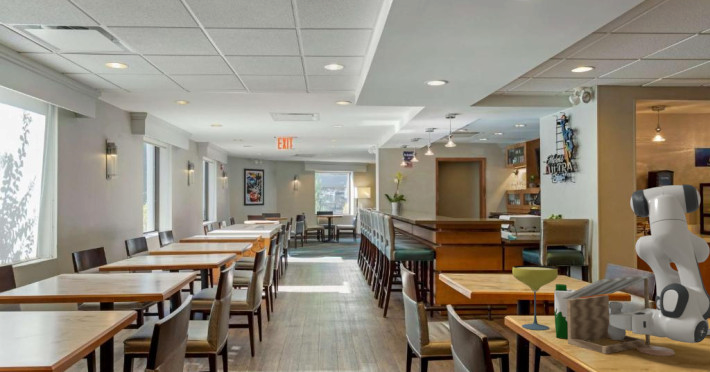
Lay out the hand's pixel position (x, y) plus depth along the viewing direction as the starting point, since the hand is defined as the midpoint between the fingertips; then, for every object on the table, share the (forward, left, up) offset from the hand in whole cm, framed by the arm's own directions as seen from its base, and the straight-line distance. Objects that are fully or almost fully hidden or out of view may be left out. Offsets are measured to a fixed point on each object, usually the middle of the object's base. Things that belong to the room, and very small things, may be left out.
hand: (614, 314), depth 183 cm
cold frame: (+1, -3, -11) cm, 12 cm away
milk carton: (+8, -16, -12) cm, 21 cm away
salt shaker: (0, +1, -8) cm, 9 cm away
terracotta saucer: (-10, +8, -11) cm, 17 cm away
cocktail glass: (+12, -34, -12) cm, 38 cm away
